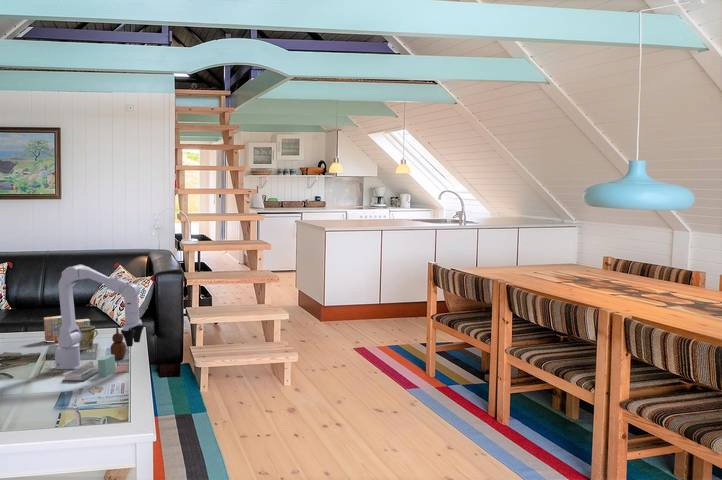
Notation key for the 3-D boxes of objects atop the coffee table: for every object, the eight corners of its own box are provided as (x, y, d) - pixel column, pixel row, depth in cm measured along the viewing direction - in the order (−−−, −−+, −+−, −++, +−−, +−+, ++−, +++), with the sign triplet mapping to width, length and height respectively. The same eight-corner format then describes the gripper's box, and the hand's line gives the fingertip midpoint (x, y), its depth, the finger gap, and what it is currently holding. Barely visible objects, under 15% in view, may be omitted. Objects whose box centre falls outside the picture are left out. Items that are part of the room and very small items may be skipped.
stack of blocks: (89, 336, 376) (88, 312, 375) (91, 338, 371) (90, 314, 370) (44, 341, 366) (43, 317, 365) (45, 343, 361) (44, 319, 360)
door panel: (98, 376, 295) (97, 359, 294) (108, 371, 304) (107, 354, 303) (105, 376, 295) (105, 359, 294) (115, 371, 304) (114, 354, 303)
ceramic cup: (69, 350, 345) (68, 329, 344) (84, 345, 354) (83, 325, 353) (90, 351, 340) (89, 330, 339) (105, 347, 349) (104, 326, 348)
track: (62, 381, 289) (62, 375, 288) (88, 367, 310) (87, 361, 310) (84, 381, 288) (83, 375, 287) (108, 367, 310) (108, 361, 309)
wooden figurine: (120, 360, 322) (119, 327, 321) (108, 360, 323) (107, 326, 322) (128, 356, 328) (127, 324, 327) (116, 356, 330) (115, 323, 328)
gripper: (134, 315, 299) (135, 348, 300) (147, 309, 313) (149, 340, 314) (117, 315, 300) (119, 348, 301) (132, 309, 314) (133, 340, 315)
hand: (133, 344), depth 308 cm, fingers open, 7 cm apart
